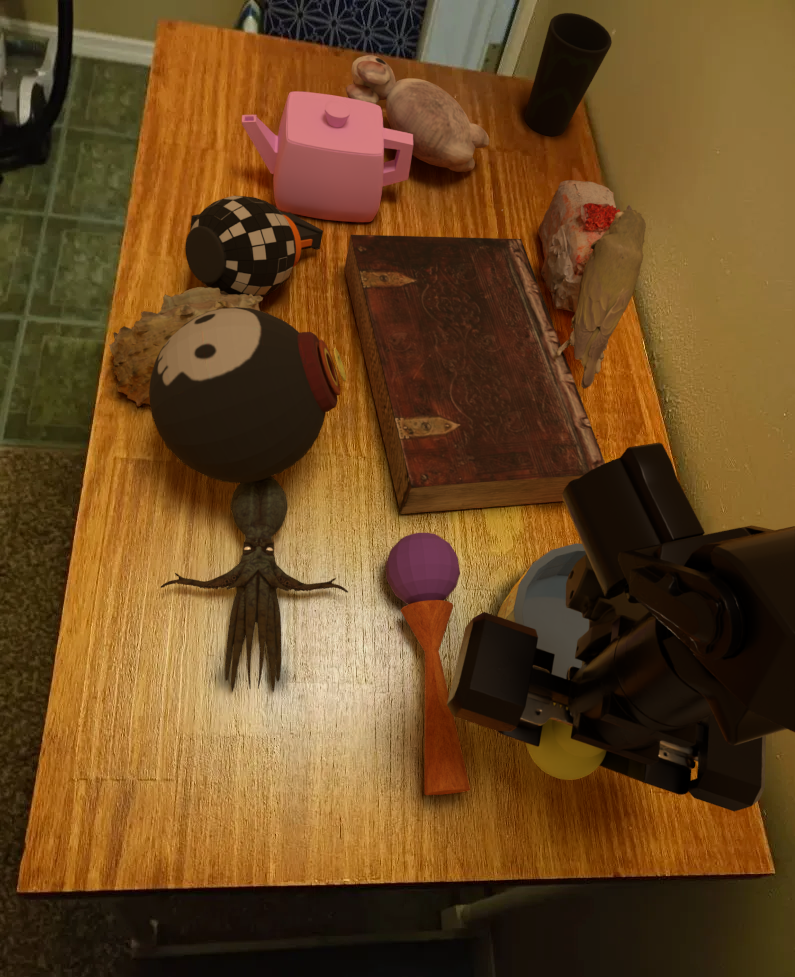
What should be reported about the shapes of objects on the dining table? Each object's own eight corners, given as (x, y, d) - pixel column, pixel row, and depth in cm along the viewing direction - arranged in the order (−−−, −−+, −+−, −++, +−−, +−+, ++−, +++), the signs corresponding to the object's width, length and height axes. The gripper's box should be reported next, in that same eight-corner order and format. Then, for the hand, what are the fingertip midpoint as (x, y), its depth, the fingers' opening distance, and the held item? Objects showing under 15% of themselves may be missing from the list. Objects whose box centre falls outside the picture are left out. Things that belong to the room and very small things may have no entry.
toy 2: (375, 101, 102) (301, 80, 90) (407, 45, 98) (334, 14, 86) (530, 243, 96) (473, 240, 83) (571, 188, 92) (517, 178, 80)
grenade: (159, 176, 73) (277, 167, 84) (151, 274, 79) (263, 254, 90) (245, 225, 69) (359, 209, 80) (231, 326, 74) (339, 298, 85)
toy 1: (120, 303, 63) (302, 242, 62) (198, 419, 73) (356, 369, 72) (107, 425, 54) (319, 357, 53) (198, 537, 65) (377, 483, 63)
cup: (514, 131, 103) (547, 39, 93) (519, 96, 107) (551, 5, 97) (572, 148, 104) (611, 59, 94) (574, 113, 108) (612, 24, 98)
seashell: (287, 361, 78) (295, 277, 71) (180, 447, 70) (176, 362, 62) (199, 306, 81) (197, 219, 73) (86, 382, 72) (70, 293, 65)
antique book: (591, 498, 76) (614, 471, 72) (399, 515, 71) (411, 487, 67) (510, 270, 90) (524, 236, 86) (343, 271, 85) (350, 234, 81)
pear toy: (582, 797, 55) (640, 770, 48) (507, 772, 55) (554, 741, 48) (593, 721, 58) (649, 684, 51) (522, 697, 58) (567, 657, 51)
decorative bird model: (642, 220, 83) (670, 198, 78) (587, 398, 79) (613, 387, 74) (599, 198, 82) (625, 175, 77) (541, 378, 78) (565, 365, 73)
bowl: (648, 761, 65) (682, 744, 60) (477, 703, 64) (498, 682, 60) (663, 602, 72) (694, 577, 68) (511, 549, 72) (532, 520, 67)
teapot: (236, 211, 86) (239, 126, 77) (242, 146, 91) (246, 60, 83) (403, 233, 89) (424, 154, 81) (399, 169, 95) (418, 89, 86)
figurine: (148, 687, 56) (168, 452, 63) (153, 701, 61) (172, 481, 68) (355, 688, 59) (352, 462, 66) (343, 700, 64) (342, 490, 71)
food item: (613, 328, 89) (655, 261, 80) (544, 322, 87) (580, 254, 79) (588, 238, 95) (624, 168, 87) (523, 231, 94) (554, 159, 85)
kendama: (407, 792, 56) (382, 524, 64) (405, 799, 61) (382, 551, 70) (493, 784, 56) (457, 518, 65) (483, 791, 62) (451, 545, 70)
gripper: (828, 594, 47) (692, 678, 60) (524, 489, 47) (454, 596, 60) (834, 787, 41) (681, 833, 54) (485, 668, 41) (417, 743, 54)
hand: (557, 743), depth 56 cm, fingers closed on pear toy, 5 cm apart
